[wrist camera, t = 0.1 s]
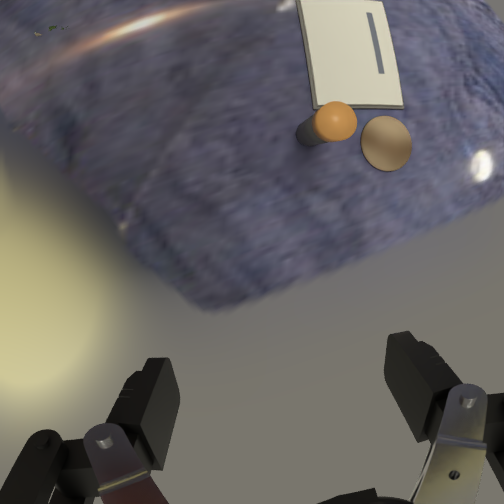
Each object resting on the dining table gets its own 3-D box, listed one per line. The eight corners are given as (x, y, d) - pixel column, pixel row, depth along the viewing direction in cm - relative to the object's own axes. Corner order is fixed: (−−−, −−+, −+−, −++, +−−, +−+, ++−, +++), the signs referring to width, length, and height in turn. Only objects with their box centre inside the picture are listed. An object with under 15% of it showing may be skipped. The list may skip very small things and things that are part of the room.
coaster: (357, 116, 36) (358, 115, 35) (406, 116, 35) (408, 116, 35) (363, 172, 38) (364, 172, 37) (411, 170, 37) (413, 170, 37)
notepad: (295, -3, 31) (296, -6, 30) (381, 2, 31) (384, -1, 30) (313, 109, 36) (314, 108, 34) (402, 109, 35) (406, 108, 34)
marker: (293, 122, 36) (315, 101, 23) (319, 120, 36) (354, 100, 23) (296, 148, 37) (320, 141, 24) (322, 146, 37) (359, 139, 24)
